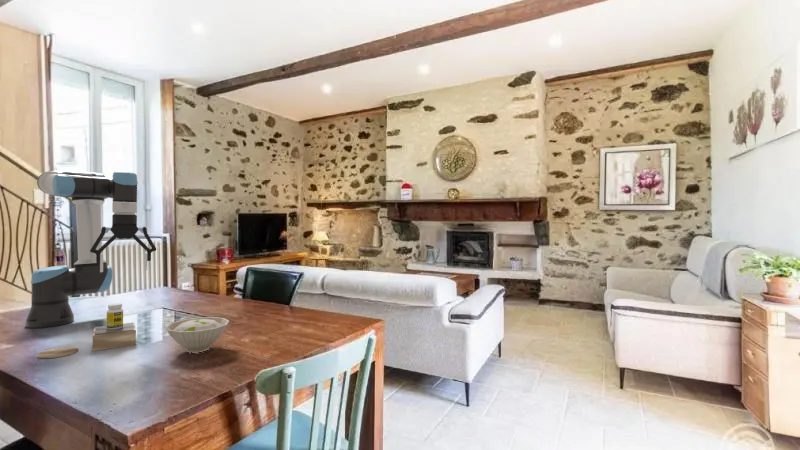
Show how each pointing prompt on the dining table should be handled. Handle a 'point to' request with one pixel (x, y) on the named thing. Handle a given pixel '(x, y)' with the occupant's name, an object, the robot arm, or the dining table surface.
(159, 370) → the dining table surface
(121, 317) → the supplement bottle
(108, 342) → the beech block
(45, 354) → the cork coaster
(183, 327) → the bowl
